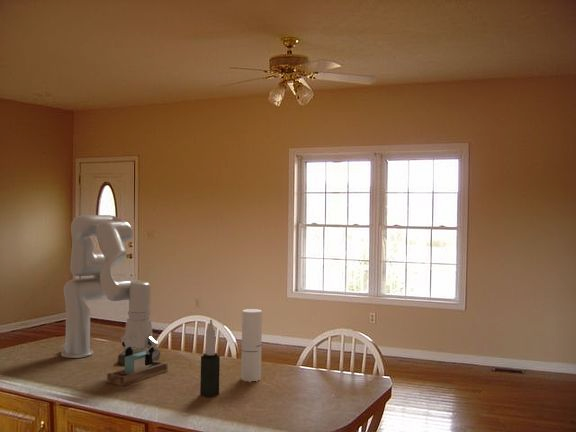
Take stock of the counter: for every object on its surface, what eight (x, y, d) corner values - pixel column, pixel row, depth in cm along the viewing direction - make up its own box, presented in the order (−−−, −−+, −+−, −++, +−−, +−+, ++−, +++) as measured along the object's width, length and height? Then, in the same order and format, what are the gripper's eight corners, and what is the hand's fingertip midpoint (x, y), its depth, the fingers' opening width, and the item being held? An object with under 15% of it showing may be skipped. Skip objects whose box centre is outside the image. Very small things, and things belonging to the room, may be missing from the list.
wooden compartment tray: (107, 382, 199) (107, 373, 199) (150, 367, 218) (151, 360, 218) (124, 386, 195) (124, 377, 195) (167, 371, 214) (167, 363, 214)
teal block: (124, 376, 203) (124, 356, 203) (144, 369, 212) (144, 351, 212) (131, 377, 202) (132, 358, 202) (151, 371, 210) (151, 352, 210)
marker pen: (210, 398, 185) (212, 321, 185) (198, 395, 188) (200, 319, 187) (220, 393, 189) (221, 319, 189) (208, 391, 192) (210, 317, 192)
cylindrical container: (264, 379, 207) (266, 310, 207) (250, 383, 202) (251, 313, 201) (251, 375, 212) (252, 308, 211) (237, 378, 206) (238, 310, 206)
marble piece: (151, 368, 219) (151, 357, 219) (113, 367, 219) (113, 356, 219) (162, 357, 235) (162, 347, 235) (127, 356, 236) (127, 346, 236)
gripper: (114, 314, 208) (113, 361, 208) (149, 320, 199) (149, 368, 199) (129, 311, 214) (128, 357, 214) (164, 316, 206) (163, 363, 206)
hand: (138, 362), depth 207 cm, fingers open, 9 cm apart
